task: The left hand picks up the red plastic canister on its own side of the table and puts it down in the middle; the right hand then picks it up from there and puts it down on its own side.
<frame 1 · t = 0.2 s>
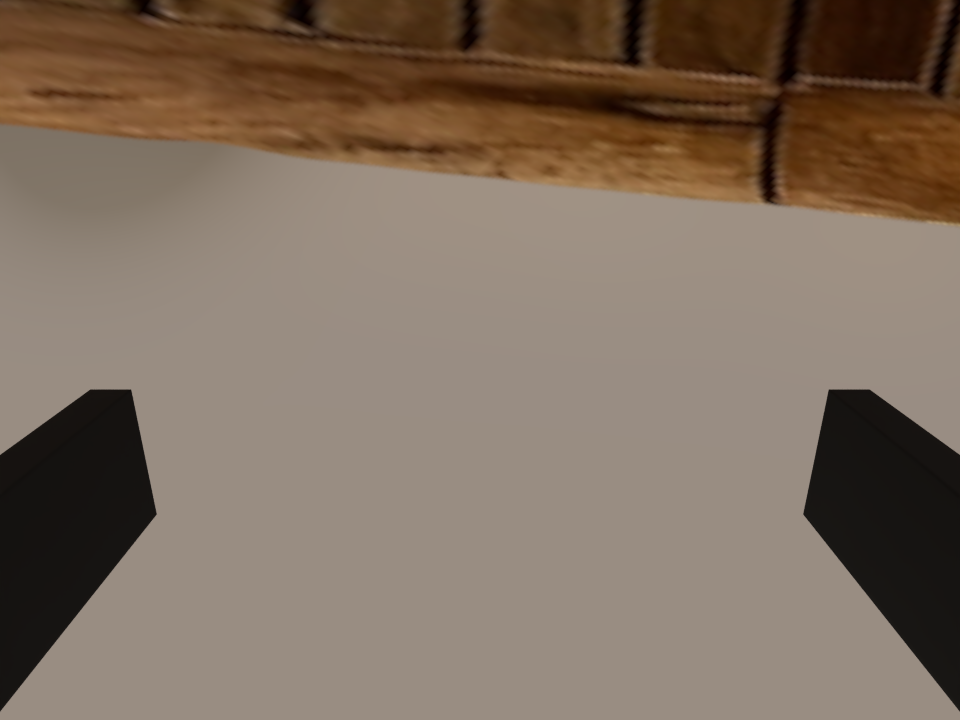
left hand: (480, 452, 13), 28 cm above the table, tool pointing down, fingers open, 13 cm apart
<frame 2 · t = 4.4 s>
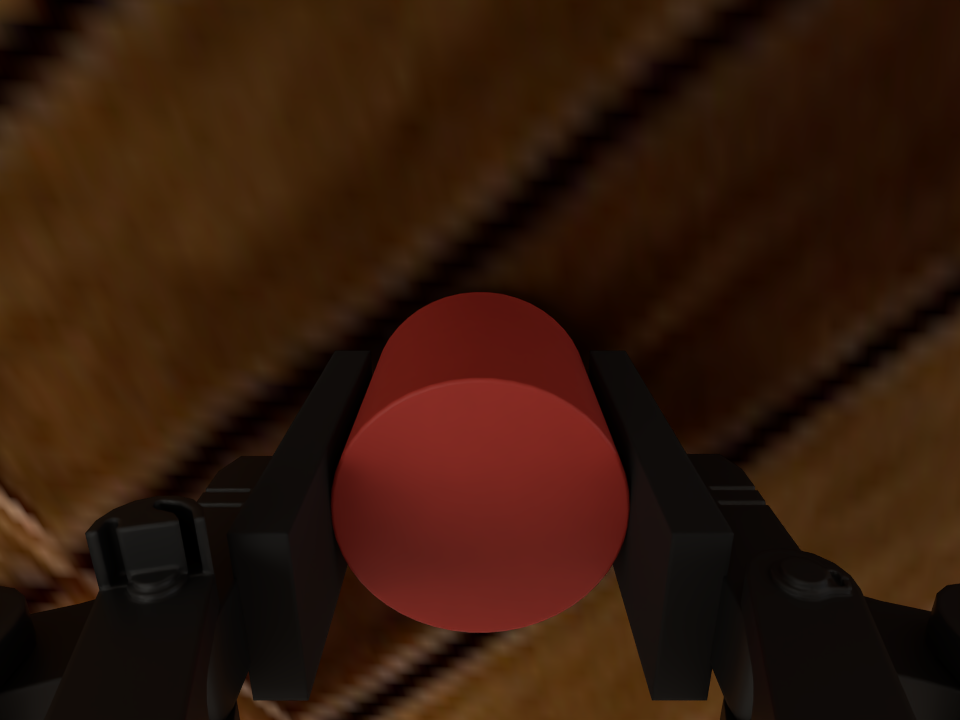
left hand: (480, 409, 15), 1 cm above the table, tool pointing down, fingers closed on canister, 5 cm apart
canister: (480, 393, 15), point 1 cm above the table, touching left hand
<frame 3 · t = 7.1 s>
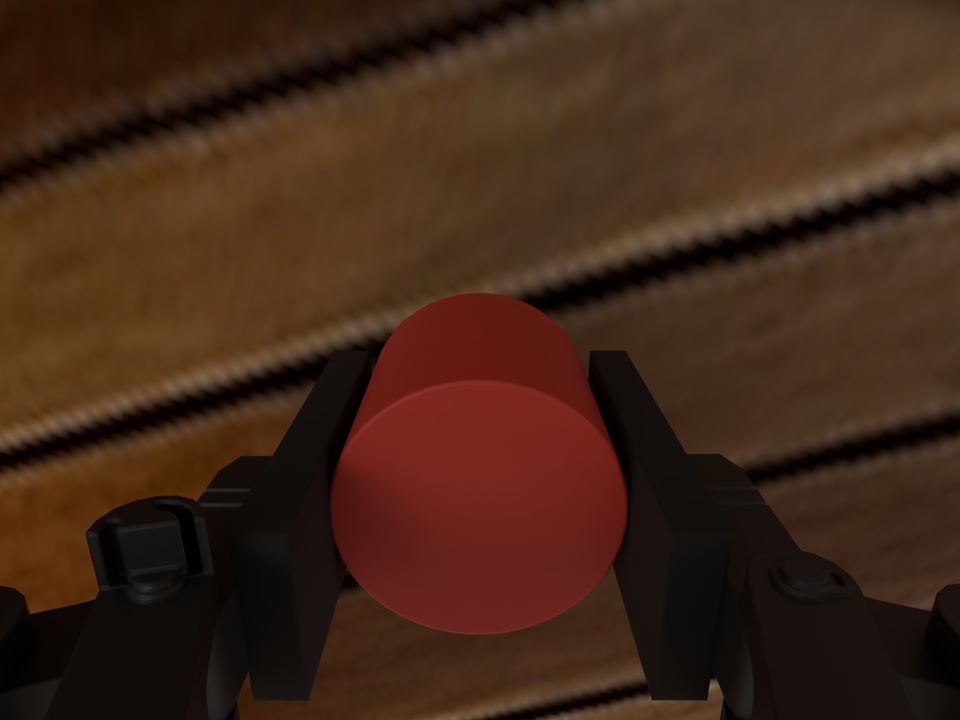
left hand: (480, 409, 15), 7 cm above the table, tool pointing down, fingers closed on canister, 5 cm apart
canister: (478, 394, 15), point 7 cm above the table, touching left hand
when the left hand's fingers open (1 cm above the table, at t = 10.0 s): canister stays where it is, on the table.
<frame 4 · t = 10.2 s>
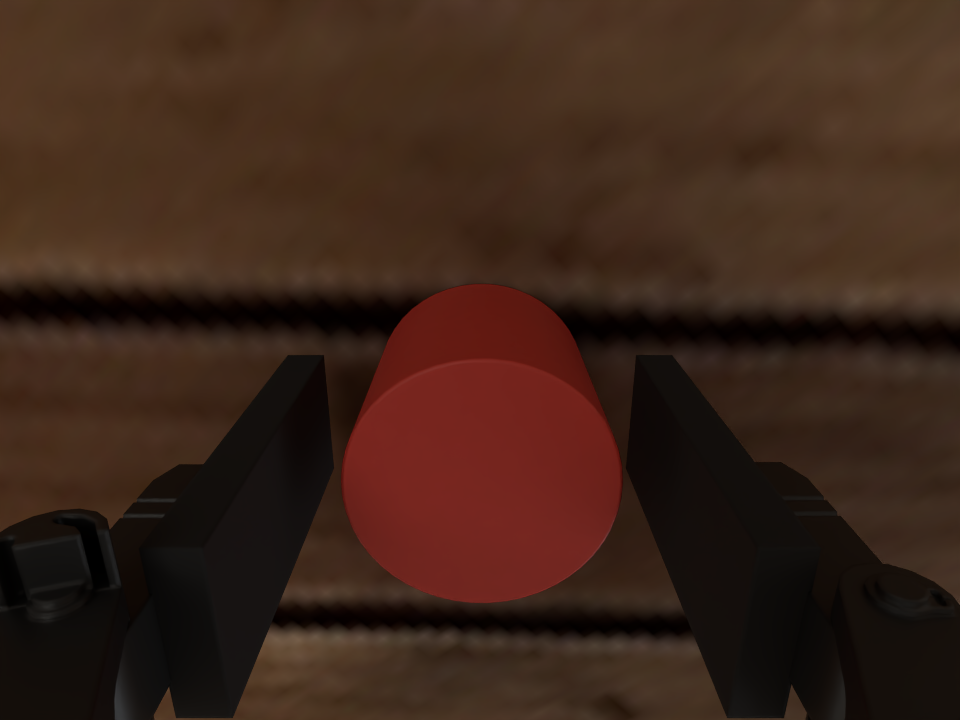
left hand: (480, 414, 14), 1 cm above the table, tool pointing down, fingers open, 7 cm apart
canister: (481, 381, 15), on the table
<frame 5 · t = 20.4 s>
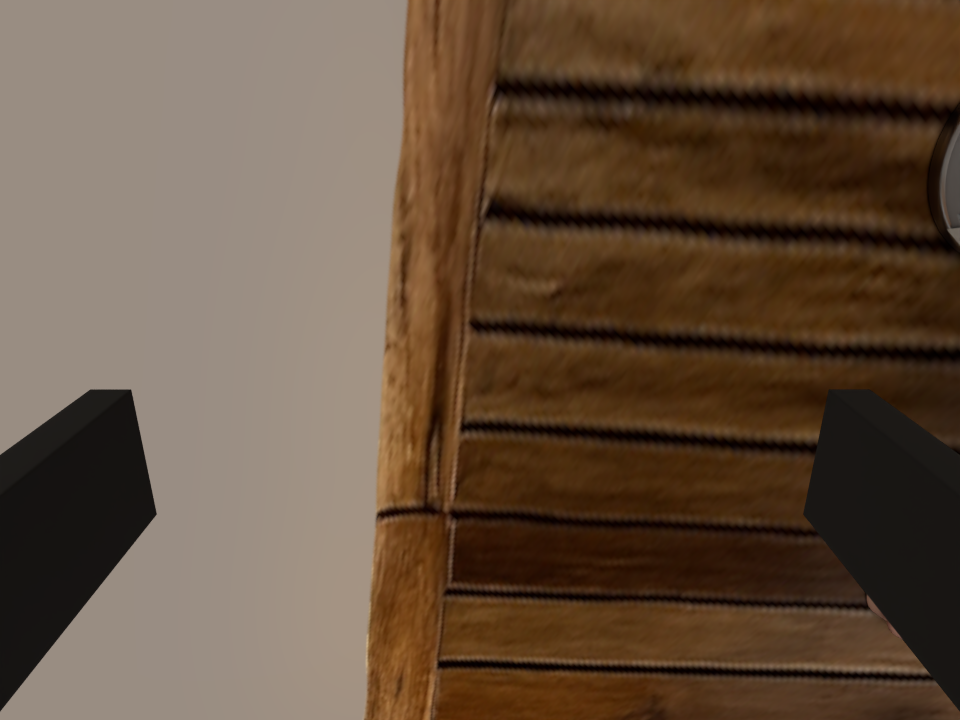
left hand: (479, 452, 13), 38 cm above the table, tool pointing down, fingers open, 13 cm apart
when the right hand's fingers open (2 cm above the table, at t = 23.5 s): canister drops 1 cm, on the table.
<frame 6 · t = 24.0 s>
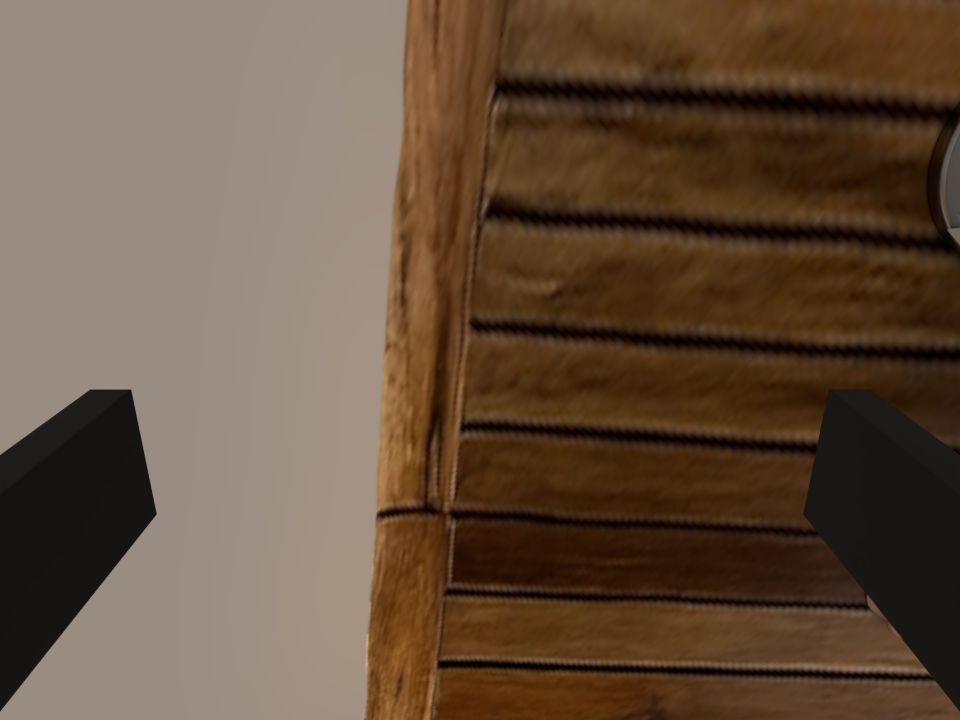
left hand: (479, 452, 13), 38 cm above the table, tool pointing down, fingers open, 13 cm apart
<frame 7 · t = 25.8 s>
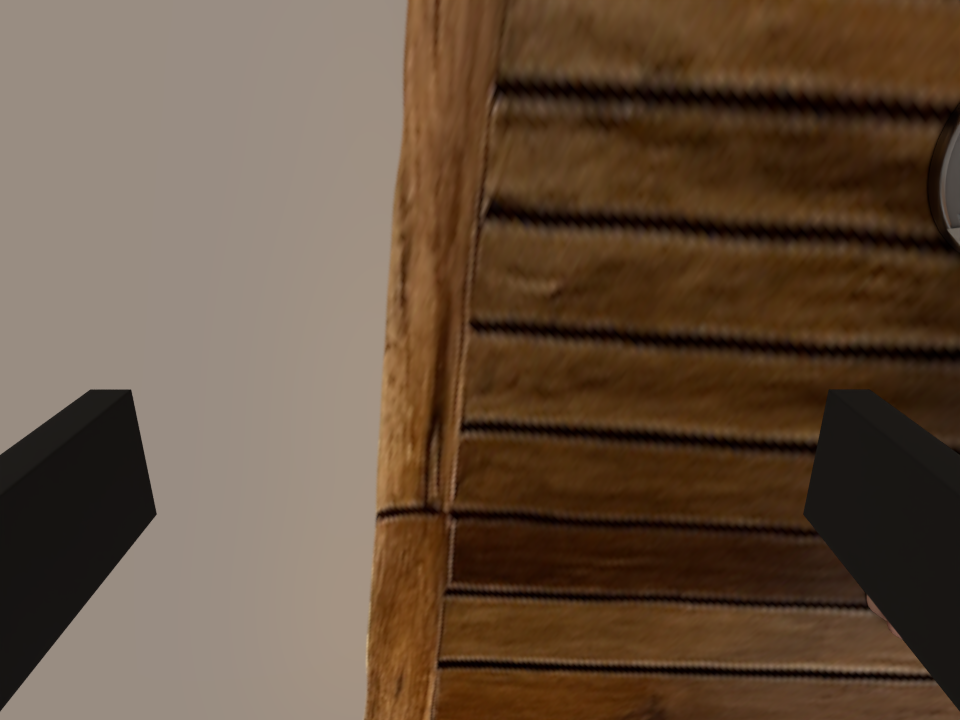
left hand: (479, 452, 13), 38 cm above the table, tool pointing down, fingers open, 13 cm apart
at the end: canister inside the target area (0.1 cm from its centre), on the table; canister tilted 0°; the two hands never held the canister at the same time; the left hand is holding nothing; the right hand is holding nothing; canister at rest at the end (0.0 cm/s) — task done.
